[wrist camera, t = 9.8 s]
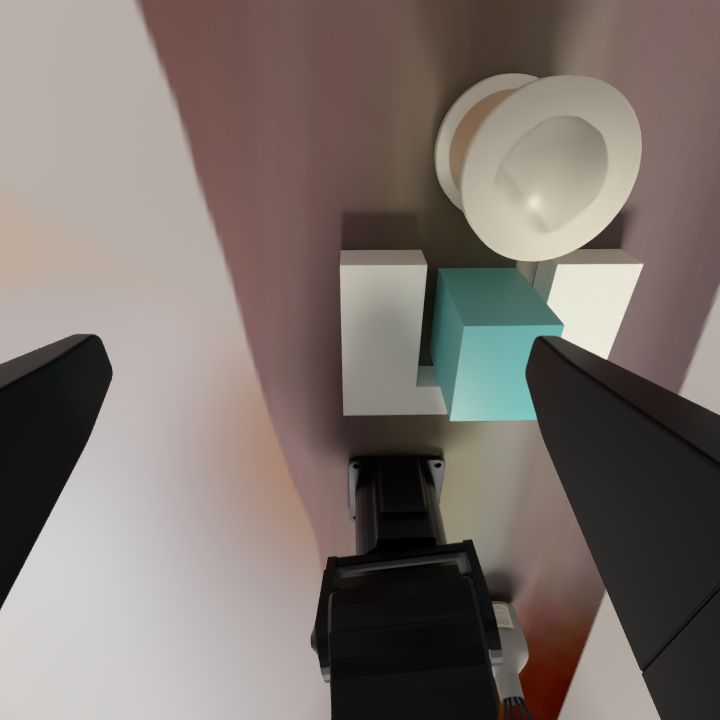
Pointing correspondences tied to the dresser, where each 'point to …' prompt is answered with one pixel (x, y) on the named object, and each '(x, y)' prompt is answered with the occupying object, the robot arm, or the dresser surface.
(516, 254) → the bobbin
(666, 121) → the dresser surface
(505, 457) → the dresser surface
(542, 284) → the notched board
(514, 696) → the reed diffuser
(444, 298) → the teal rectangular block
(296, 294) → the dresser surface
